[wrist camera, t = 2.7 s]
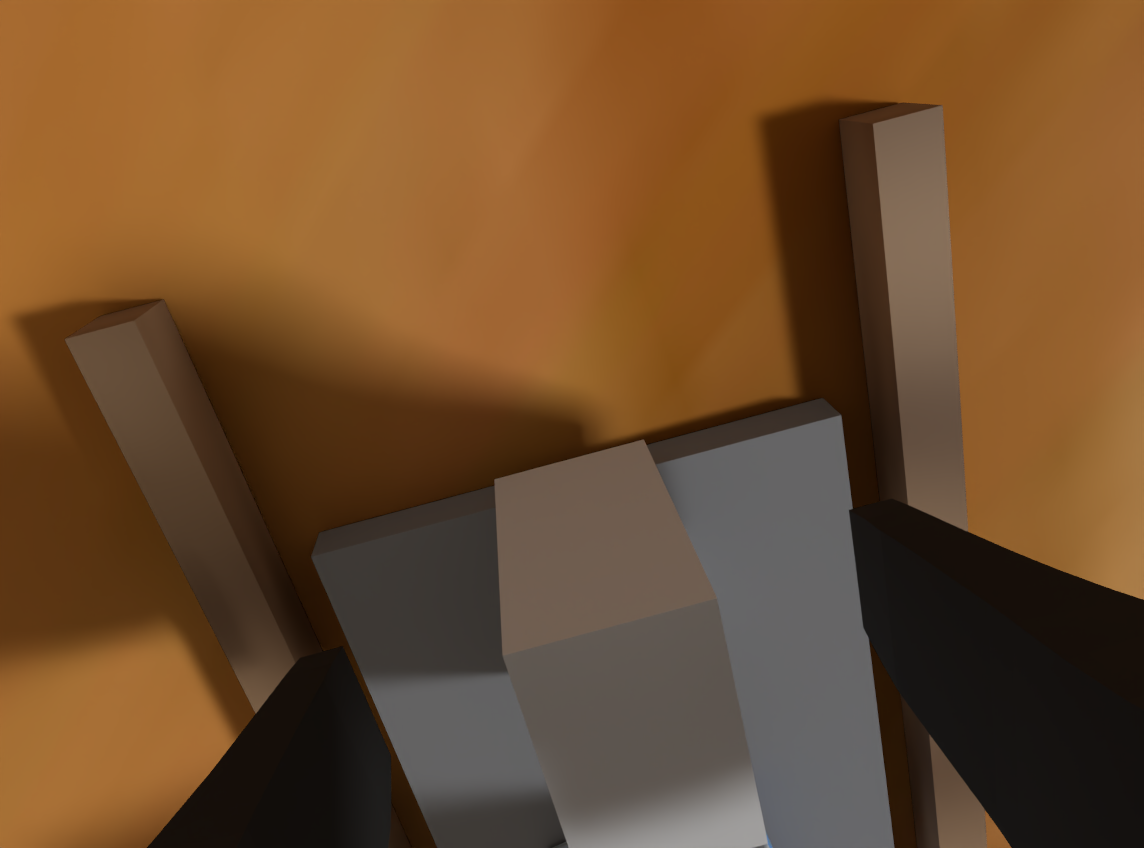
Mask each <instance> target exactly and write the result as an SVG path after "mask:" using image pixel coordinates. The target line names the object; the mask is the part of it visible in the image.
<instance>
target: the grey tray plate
mask: <svg viewBox="0 0 1144 848" xmlns="http://www.w3.org/2000/svg"><path fill="white" fill-rule="evenodd" d="M494 482H495V486H491V487H487V488H484V489H480V490H476V491H473V492H469V493H465V494H461V495H458V496H454V497H450V498H446V499H443V500H439V501H435V502H431V503H428V504H424V505H420V506H416V507H413V508H409V509H405V510H401V511H398V512H394V513H390V514H387V515H383V516H379V517H375V518H372V519H368V520H364V521H360V522H357V523H353V524H349V525H345V526H342V527H338V528H334V529H330V530H327V531H323V532H319V535H318V538H317V541H316V544H315V546H314V549H313V552H312V555H311V558H312V560H313V563H314V565H315V567H316V570H317V572H318V574H319V577H320V579H321V581H322V583H323V586H324V588H325V590H326V593H327V595H328V597H329V600H330V602H331V604H332V607H333V609H334V611H335V613H336V616H337V618H338V620H339V623H340V625H341V627H342V630H343V632H344V634H345V636H346V639H347V641H348V643H349V646H350V648H351V650H352V653H353V655H354V657H355V660H356V662H357V664H358V666H359V669H360V671H361V673H362V676H363V678H364V680H365V683H366V685H367V687H368V689H369V692H370V694H371V696H372V699H373V701H374V703H375V706H376V708H377V710H378V713H379V715H380V717H381V719H382V722H383V724H384V726H385V729H386V731H387V733H388V736H389V738H390V740H391V742H392V745H393V747H394V749H395V752H396V754H397V756H398V759H399V761H400V763H401V765H402V768H403V770H404V772H405V775H406V777H407V779H408V782H409V784H410V786H411V789H412V791H413V793H414V795H415V798H416V800H417V802H418V805H419V807H420V809H421V812H422V814H423V816H424V818H425V821H426V823H427V825H428V828H429V830H430V832H431V835H432V837H433V839H434V842H435V844H436V846H437V848H553V847H555V846H557V845H560V844H562V843H564V842H567V844H568V847H569V848H754V847H757V846H761V845H765V844H768V841H767V836H766V833H767V835H768V838H769V840H770V842H771V844H772V847H773V848H894V840H893V832H892V824H891V816H890V808H889V800H888V792H887V783H886V775H885V767H884V759H883V751H882V743H881V735H880V726H879V718H878V710H877V702H876V694H875V686H874V678H873V670H872V661H871V653H870V645H869V638H868V636H867V634H866V632H865V630H864V628H863V621H862V613H861V605H860V596H859V588H858V580H857V572H856V564H855V556H854V548H853V540H852V532H851V524H850V516H849V510H851V509H853V507H852V499H851V491H850V483H849V474H848V466H847V458H846V450H845V442H844V434H843V426H842V417H841V414H840V413H838V412H837V411H836V410H835V409H834V408H833V407H832V406H831V405H830V404H829V403H828V402H827V401H826V400H825V399H823V398H820V399H817V400H813V401H809V402H805V403H802V404H798V405H794V406H790V407H787V408H783V409H779V410H775V411H772V412H768V413H764V414H760V415H757V416H753V417H749V418H746V419H742V420H738V421H734V422H731V423H727V424H723V425H719V426H716V427H712V428H708V429H704V430H701V431H697V432H693V433H689V434H686V435H682V436H678V437H674V438H671V439H667V440H663V441H660V442H656V443H652V444H648V445H646V443H645V441H644V439H643V440H639V441H636V442H632V443H628V444H624V445H621V446H617V447H613V448H610V449H606V450H602V451H598V452H595V453H591V454H587V455H583V456H580V457H576V458H572V459H568V460H565V461H561V462H557V463H553V464H550V465H546V466H542V467H538V468H535V469H531V470H527V471H524V472H520V473H516V474H512V475H509V476H505V477H501V478H497V479H494Z"/></svg>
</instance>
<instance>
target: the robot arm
mask: <svg viewBox="0 0 1144 848" xmlns="http://www.w3.org/2000/svg"><path fill="white" fill-rule="evenodd" d="M849 516H850V524H851V532H852V540H853V548H854V556H855V564H856V572H857V580H858V588H859V596H860V605H861V613H862V621H863V628H864V630H865V632H866V634H867V636H868V638H869V639H870V641H871V643H872V645H873V647H874V649H875V651H876V652H877V654H878V656H879V658H880V660H881V662H882V664H883V665H884V667H885V669H886V671H887V672H888V674H889V676H890V678H891V679H892V681H893V683H894V685H895V686H896V688H897V690H898V691H899V693H900V694H901V695H902V697H903V698H904V700H905V701H906V703H907V704H908V705H909V707H910V708H911V709H912V711H913V712H914V714H915V715H916V716H917V718H918V719H919V720H920V722H921V723H922V725H923V726H924V727H925V729H926V730H927V732H928V733H929V734H930V736H931V737H932V738H933V740H934V741H935V742H936V744H937V745H938V747H939V748H940V749H941V751H942V752H943V753H944V755H945V756H946V757H947V759H948V760H949V761H950V763H951V764H952V766H953V767H954V768H955V770H956V771H957V772H958V774H959V775H960V776H961V778H962V779H963V780H964V782H965V783H966V785H967V786H968V787H969V789H970V790H971V791H972V793H973V794H974V795H975V797H976V798H977V799H978V801H979V802H980V804H981V805H982V806H983V808H984V809H985V810H986V812H987V813H988V814H989V816H990V817H991V818H992V820H993V821H994V823H995V824H996V825H997V827H998V828H999V830H1000V831H1001V832H1002V834H1003V835H1004V837H1005V838H1006V840H1007V841H1008V843H1009V844H1010V846H1011V847H1012V848H1144V600H1143V599H1139V598H1136V597H1133V596H1130V595H1127V594H1124V593H1121V592H1118V591H1115V590H1112V589H1109V588H1106V587H1104V586H1101V585H1098V584H1096V583H1093V582H1090V581H1087V580H1085V579H1082V578H1079V577H1076V576H1074V575H1071V574H1068V573H1066V572H1063V571H1060V570H1058V569H1055V568H1052V567H1050V566H1047V565H1045V564H1042V563H1040V562H1037V561H1035V560H1032V559H1030V558H1028V557H1025V556H1023V555H1020V554H1018V553H1015V552H1013V551H1011V550H1008V549H1006V548H1004V547H1001V546H999V545H997V544H994V543H992V542H990V541H988V540H985V539H983V538H981V537H978V536H976V535H974V534H972V533H969V532H967V531H965V530H963V529H961V528H958V527H956V526H954V525H952V524H950V523H947V522H945V521H943V520H941V519H938V518H936V517H934V516H932V515H930V514H927V513H925V512H923V511H921V510H918V509H916V508H914V507H912V506H909V505H907V504H905V503H902V502H900V501H897V500H894V499H892V498H891V499H888V500H884V501H880V502H877V503H873V504H869V505H865V506H862V507H858V508H854V509H851V510H849ZM390 829H391V755H390V752H389V750H388V748H387V746H386V743H385V741H384V739H383V737H382V734H381V732H380V730H379V728H378V725H377V723H376V721H375V718H374V716H373V714H372V712H371V709H370V707H369V705H368V703H367V700H366V698H365V696H364V693H363V691H362V689H361V687H360V684H359V682H358V680H357V678H356V675H355V673H354V671H353V668H352V666H351V664H350V662H349V659H348V657H347V655H346V653H345V650H344V648H343V646H342V647H338V648H334V649H331V650H327V651H323V652H320V653H316V654H312V655H308V656H305V657H301V658H299V660H298V661H297V662H296V663H295V664H294V665H293V667H292V668H291V669H290V670H289V671H288V673H287V674H286V675H285V676H284V678H283V679H282V680H281V682H280V683H279V684H278V685H277V687H276V688H275V689H274V691H273V692H272V693H271V695H270V696H269V697H268V698H267V700H266V701H265V702H264V704H263V705H262V706H261V708H260V709H259V710H258V712H257V713H256V714H255V716H254V717H253V718H252V720H251V721H250V722H249V724H248V725H247V726H246V727H245V729H244V730H243V731H242V733H241V734H240V735H239V736H238V738H237V739H236V740H235V742H234V743H233V744H232V745H231V747H230V748H229V749H228V751H227V752H226V753H225V755H224V756H223V757H222V758H221V760H220V761H219V762H218V764H217V765H216V766H215V767H214V769H213V770H212V771H211V772H210V774H209V775H208V776H207V777H206V779H205V780H204V781H203V782H202V783H201V784H200V786H199V787H198V788H197V789H196V790H195V792H194V793H193V794H192V795H191V796H190V798H189V799H188V800H187V801H186V802H185V803H184V805H183V806H182V807H181V808H180V809H179V811H178V812H177V813H176V814H175V815H174V817H173V818H172V819H171V820H170V821H169V822H168V824H167V825H166V826H165V827H164V828H163V830H162V831H161V832H160V833H159V834H158V836H157V837H156V838H155V839H154V840H153V841H152V842H151V844H150V845H149V846H148V847H147V848H388V846H389V837H390Z"/></svg>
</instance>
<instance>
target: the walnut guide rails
mask: <svg viewBox="0 0 1144 848" xmlns="http://www.w3.org/2000/svg"><path fill="white" fill-rule="evenodd" d="M839 126H840V136H841V145H842V154H843V163H844V173H845V182H846V191H847V201H848V210H849V219H850V229H851V238H852V247H853V256H854V266H855V275H856V284H857V294H858V303H859V312H860V322H861V331H862V340H863V349H864V359H865V368H866V377H867V387H868V396H869V405H870V415H871V424H872V433H873V442H874V452H875V461H876V470H877V480H878V489H879V498H880V501H884V500H888V499H891V498H892V499H894V500H897V501H900V502H902V503H905V504H907V505H909V506H912V507H914V508H916V509H918V510H921V511H923V512H925V513H927V514H930V515H932V516H934V517H936V518H938V519H941V520H943V521H945V522H947V523H950V524H952V525H954V526H956V527H958V528H961V529H963V530H965V531H967V532H968V523H967V506H966V490H965V473H964V456H963V440H962V423H961V406H960V390H959V373H958V356H957V340H956V323H955V306H954V290H953V273H952V256H951V240H950V223H949V206H948V190H947V173H946V156H945V140H944V123H943V106H942V105H930V104H915V103H899V104H895V105H892V106H888V107H884V108H880V109H877V110H873V111H869V112H865V113H862V114H858V115H854V116H850V117H847V118H843V119H839ZM64 340H65V342H66V344H67V345H68V347H69V349H70V351H71V353H72V355H73V357H74V359H75V361H76V363H77V365H78V367H79V369H80V371H81V373H82V375H83V377H84V379H85V381H86V383H87V385H88V387H89V389H90V390H91V392H92V394H93V396H94V398H95V400H96V402H97V404H98V406H99V408H100V410H101V412H102V414H103V416H104V418H105V420H106V422H107V424H108V426H109V428H110V430H111V432H112V434H113V435H114V437H115V439H116V441H117V443H118V445H119V447H120V449H121V451H122V453H123V455H124V457H125V459H126V461H127V463H128V465H129V467H130V469H131V471H132V473H133V475H134V477H135V479H136V480H137V482H138V484H139V486H140V488H141V490H142V492H143V494H144V496H145V498H146V500H147V502H148V504H149V506H150V508H151V510H152V512H153V514H154V516H155V518H156V520H157V522H158V524H159V526H160V527H161V529H162V531H163V533H164V535H165V537H166V539H167V541H168V543H169V545H170V547H171V549H172V551H173V553H174V555H175V557H176V559H177V561H178V563H179V565H180V567H181V569H182V571H183V572H184V574H185V576H186V578H187V580H188V582H189V584H190V586H191V588H192V590H193V592H194V594H195V596H196V598H197V600H198V602H199V604H200V606H201V608H202V610H203V612H204V614H205V616H206V617H207V619H208V621H209V623H210V625H211V627H212V629H213V631H214V633H215V635H216V637H217V639H218V641H219V643H220V645H221V647H222V649H223V651H224V653H225V655H226V657H227V659H228V661H229V662H230V664H231V666H232V668H233V670H234V672H235V674H236V676H237V678H238V680H239V682H240V684H241V686H242V688H243V690H244V692H245V694H246V696H247V698H248V700H249V702H250V704H251V706H252V708H253V709H254V711H255V713H257V712H258V710H259V709H260V708H261V706H262V705H263V704H264V702H265V701H266V700H267V698H268V697H269V696H270V695H271V693H272V692H273V691H274V689H275V688H276V687H277V685H278V684H279V683H280V682H281V680H282V679H283V678H284V676H285V675H286V674H287V673H288V671H289V670H290V669H291V668H292V667H293V665H294V664H295V663H296V662H297V661H298V660H299V658H301V657H305V656H308V655H312V654H316V653H320V652H323V651H322V649H321V647H320V644H319V642H318V640H317V638H316V635H315V633H314V631H313V629H312V627H311V624H310V622H309V620H308V618H307V616H306V613H305V611H304V609H303V607H302V604H301V602H300V600H299V598H298V596H297V593H296V591H295V589H294V587H293V585H292V582H291V580H290V578H289V576H288V573H287V571H286V569H285V567H284V565H283V562H282V560H281V558H280V556H279V554H278V551H277V549H276V547H275V545H274V542H273V540H272V538H271V536H270V534H269V531H268V529H267V527H266V525H265V523H264V520H263V518H262V516H261V514H260V511H259V509H258V507H257V505H256V503H255V500H254V498H253V496H252V494H251V492H250V489H249V487H248V485H247V483H246V480H245V478H244V476H243V474H242V472H241V469H240V467H239V465H238V463H237V461H236V458H235V456H234V454H233V452H232V449H231V447H230V445H229V443H228V441H227V438H226V436H225V434H224V432H223V430H222V427H221V425H220V423H219V421H218V418H217V416H216V414H215V412H214V410H213V407H212V405H211V403H210V401H209V399H208V396H207V394H206V392H205V390H204V387H203V385H202V383H201V381H200V379H199V376H198V374H197V372H196V370H195V368H194V365H193V363H192V361H191V359H190V356H189V354H188V352H187V350H186V348H185V345H184V343H183V341H182V339H181V337H180V334H179V332H178V330H177V328H176V325H175V323H174V321H173V319H172V317H171V314H170V312H169V310H168V308H167V306H166V303H165V301H164V299H163V300H159V301H156V302H152V303H148V304H144V305H141V306H137V307H133V308H129V309H126V310H122V311H118V312H114V313H111V314H107V315H103V316H100V317H98V318H97V319H95V320H93V321H92V322H90V323H89V324H87V325H86V326H84V327H83V328H81V329H79V330H78V331H76V332H75V333H73V334H72V335H70V336H69V337H67V338H65V339H64ZM901 703H902V712H903V721H904V731H905V740H906V749H907V759H908V768H909V777H910V786H911V796H912V805H913V814H914V824H915V833H916V842H917V848H987V840H986V823H985V809H984V808H983V806H982V805H981V804H980V802H979V801H978V799H977V798H976V797H975V795H974V794H973V793H972V791H971V790H970V789H969V787H968V786H967V785H966V783H965V782H964V780H963V779H962V778H961V776H960V775H959V774H958V772H957V771H956V770H955V768H954V767H953V766H952V764H951V763H950V761H949V760H948V759H947V757H946V756H945V755H944V753H943V752H942V751H941V749H940V748H939V747H938V745H937V744H936V742H935V741H934V740H933V738H932V737H931V736H930V734H929V733H928V732H927V730H926V729H925V727H924V726H923V725H922V723H921V722H920V720H919V719H918V718H917V716H916V715H915V714H914V712H913V711H912V709H911V708H910V707H909V705H908V704H907V703H906V701H905V700H904V698H903V697H902V695H901ZM388 848H411V846H410V844H409V841H408V839H407V837H406V835H405V833H404V830H403V828H402V826H401V824H400V821H399V819H398V817H397V815H396V813H395V810H394V808H393V806H392V804H391V829H390V837H389V846H388Z"/></svg>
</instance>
